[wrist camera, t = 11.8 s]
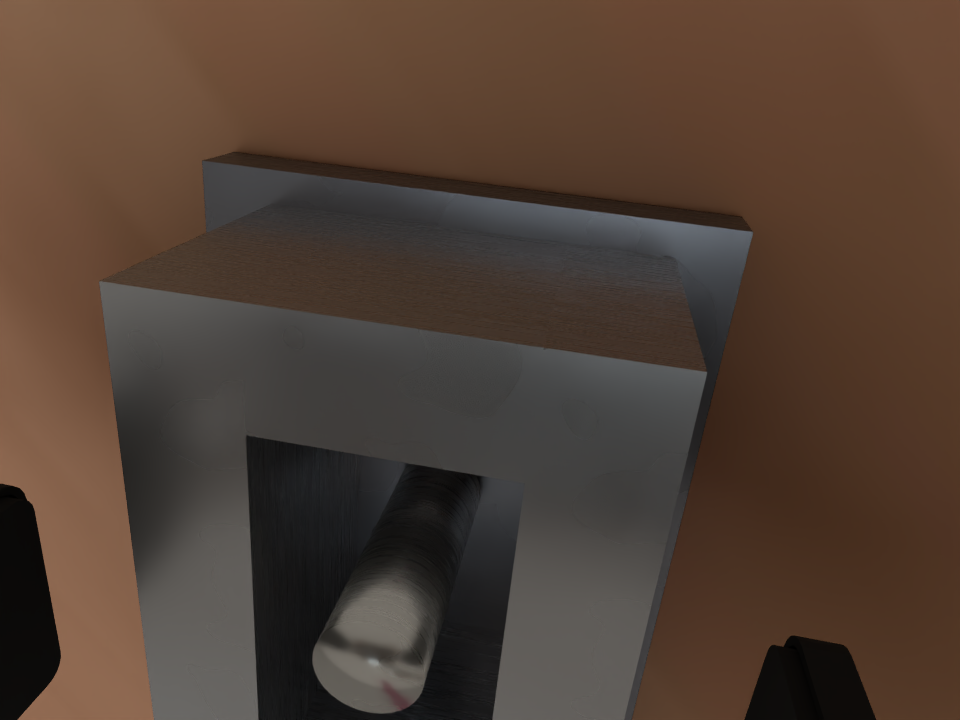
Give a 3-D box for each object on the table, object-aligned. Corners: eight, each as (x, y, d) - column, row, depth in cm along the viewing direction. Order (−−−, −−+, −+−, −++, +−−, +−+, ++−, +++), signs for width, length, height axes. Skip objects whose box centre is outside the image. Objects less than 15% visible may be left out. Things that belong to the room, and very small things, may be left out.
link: (675, 258, 10) (708, 372, 7) (581, 715, 14) (569, 951, 10) (269, 204, 11) (99, 281, 7) (281, 653, 15) (171, 852, 11)
